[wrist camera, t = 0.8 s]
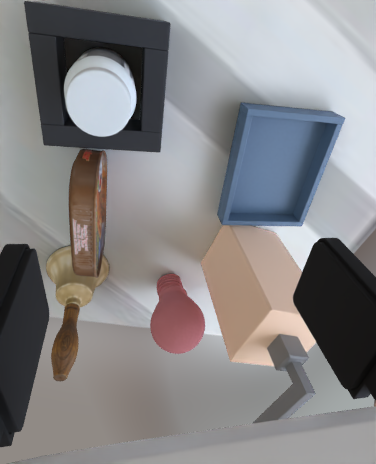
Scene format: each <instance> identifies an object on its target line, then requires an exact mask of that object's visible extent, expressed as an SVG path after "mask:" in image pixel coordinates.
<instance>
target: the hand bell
mask: <svg viewBox="0 0 376 464" xmlns="http://www.w3.org/2000/svg"><path fill="white" fill-rule="evenodd" d="M46 270H47V274H48V276H49V277H50V279H51V280H52V281H53V282H54V283H55V284H56V299H57V301H58V302H59V303H60V304H62V305H63V306H65V310H64V311H65V312H64V318H63V324H62V327H61V329H60V331H59V332H58V334H57V336H56V338H55V341H54V344H53V348H52V354H51V359H52V367H53V374H54V377H53V378H54V379H55V380H56V381H64V380H66V379H67V377H68V374H69V372H70V370H71V368H72V366H73V364H74V362H75V359H76V356H77V352H78V334H77V328H76V324H77V319H78V314H79V310H80V307H83V306H85V305H87V304H88V303H89V302H90V301H91V299H92V297H93V293H94V290H95V288H96V287H98V286H99V285H101V284H102V283H103V282H104V281H105V279H106V278H107V276H108V274H109V264H108V261H107V259H106V258H105V257H104V255H103V258H102V265H101V270H100V274H99V277H98V278H96V277H89V276H78V275H76V274H75V273H74V271H73V267H72V256H71V246H67V247H63V248H60V249H58V250H57V251H55V252H54V253H53V254H52V255H51V256H50V257H49V259H48V261H47V264H46Z"/></svg>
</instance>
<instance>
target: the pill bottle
mask: <svg viewBox="0 0 376 464" xmlns="http://www.w3.org/2000/svg"><path fill="white" fill-rule="evenodd" d="M64 96H65V102H66V108H67V111H68V114H69V116H70V117H71V119H72V121H73V122H74V123H75V124H76V125H77V126H78V127H79V128H80V129H81V130H83V131H84V132H86V133H88V134H91V135H94V136H99V137H106V136H111V135H114V134H116V133H118V132H119V131H121V130H122V129H123V128H124V127H125V126H126V124H127V123H128V121H129V119H130V118H131V116H132V115H133V112H134V110H135V106H136V99H137V98H136V89H135V83H134V78H133V74H132V71H131V69H130V67H129V65H128V63H127V62H126V61H125V59H124V58H123V57H122V56H121V55H119V54H118V53H117V52H115V51H113V50H111V49H108V48H103V47H97V48H92V49H89V50H87V51H85V52H84V53H83V54H82V55H81V56H80V57H79V58H78V59H77V61H76V62H75V63H74V64H73V66H72V67H71V68H70V69H69V71H68V73H67V75H66V78H65V82H64Z"/></svg>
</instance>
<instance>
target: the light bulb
mask: <svg viewBox="0 0 376 464" xmlns="http://www.w3.org/2000/svg"><path fill="white" fill-rule="evenodd" d="M157 293H158V295H159V302H158V304H157V306H156V308H155V310H154V312H153V314H152V318H151V324H150V327H151V333H152V336H153V338H154V340H155V342H156V343H157V344H158V345H159V347H161V348H162V349H163V350H165V351H167V352H170V353H175V354H180V353H185V352H188V351H190V350H191V349H193V348H194V347H195V346H197V344H198V343H199V342H200V340H201V339H202V337H203V334H204V330H205V320H204V316H203V313H202V311H201V309H200V308H199V307H198V305H197V304H196V303H195V302H194V301H193V300H192V299H191V298H189V297H188V296H187V293H186V291H185V290H184V289H183V286H182V282H181V280H180V277H179V276H177V275H175V274H167V275H164V276H162V277H161V278H160V279H159V280H158V281H157Z"/></svg>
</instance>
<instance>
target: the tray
mask: <svg viewBox="0 0 376 464" xmlns="http://www.w3.org/2000/svg"><path fill="white" fill-rule="evenodd" d="M344 120H345V118H344V117H342V116H340V115H338V114H336V113H334V112H330V111H320V110H310V109H300V108H290V107H280V106H270V105H260V104H250V103H241V104H240V109H239V114H238V118H237V123H236V128H235V133H234V137H233V142H232V147H231V152H230V156H229V161H228V166H227V171H226V175H225V180H224V185H223V190H222V194H221V199H220V204H219V209H218V213H217V215H218V217H219V219H220V222H221V224H222V225H252V226H302V225H303V222H304V220H305V217H306V215H307V212H308V210H309V207H310V205H311V202H312V200H313V197H314V195H315V192H316V190H317V187H318V185H319V182H320V180H321V177H322V175H323V172H324V170H325V167H326V165H327V162H328V160H329V157H330V155H331V152H332V150H333V147H334V145H335V142H336V140H337V137H338V135H339V132H340V130H341V127H342V124H343V123H344Z"/></svg>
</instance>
